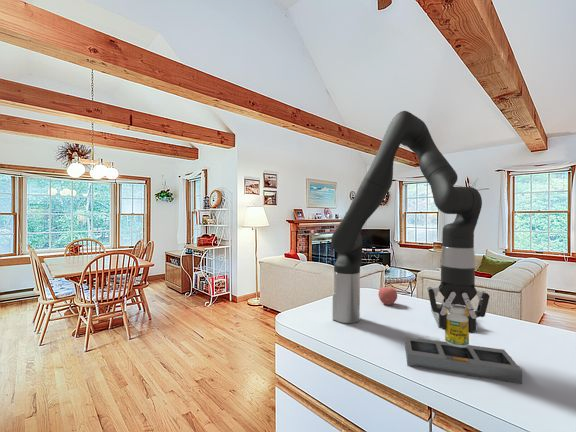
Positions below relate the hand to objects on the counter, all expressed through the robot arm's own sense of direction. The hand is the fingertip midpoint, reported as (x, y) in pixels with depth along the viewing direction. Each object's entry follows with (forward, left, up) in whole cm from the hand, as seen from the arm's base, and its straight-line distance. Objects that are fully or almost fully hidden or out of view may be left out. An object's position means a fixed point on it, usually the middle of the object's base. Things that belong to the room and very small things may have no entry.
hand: (456, 330), depth 75 cm
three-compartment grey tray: (0, 0, -8) cm, 8 cm away
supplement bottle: (0, 0, -4) cm, 4 cm away
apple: (-17, +46, -9) cm, 50 cm away
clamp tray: (+5, +34, -8) cm, 36 cm away
